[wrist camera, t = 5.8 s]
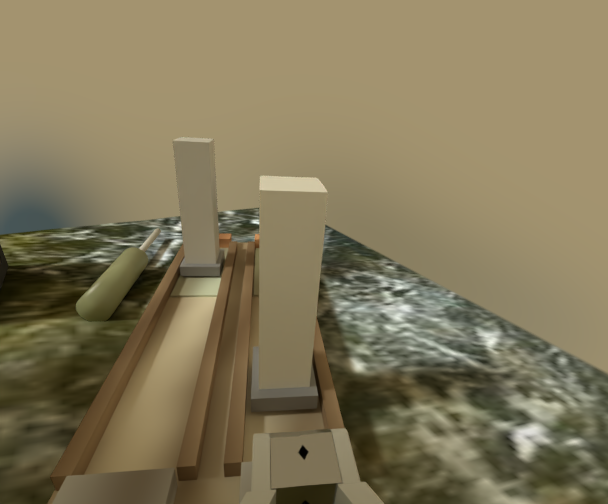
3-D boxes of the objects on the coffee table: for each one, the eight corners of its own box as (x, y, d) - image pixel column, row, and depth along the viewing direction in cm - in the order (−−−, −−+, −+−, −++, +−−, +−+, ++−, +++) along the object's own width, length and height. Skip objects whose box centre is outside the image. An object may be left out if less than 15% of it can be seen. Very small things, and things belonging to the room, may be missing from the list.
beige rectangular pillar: (251, 412, 17) (249, 193, 12) (253, 358, 21) (252, 172, 16) (316, 408, 18) (340, 196, 13) (307, 356, 21) (323, 175, 16)
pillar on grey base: (180, 276, 30) (165, 141, 25) (189, 257, 33) (177, 136, 28) (220, 276, 30) (212, 143, 25) (224, 257, 34) (219, 138, 29)
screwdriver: (113, 323, 26) (109, 296, 25) (78, 322, 26) (73, 294, 24) (169, 241, 41) (168, 222, 40) (147, 239, 41) (146, 220, 40)
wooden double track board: (31, 567, 12) (10, 531, 11) (189, 251, 38) (187, 231, 37) (358, 530, 14) (366, 497, 13) (296, 252, 40) (297, 233, 39)
